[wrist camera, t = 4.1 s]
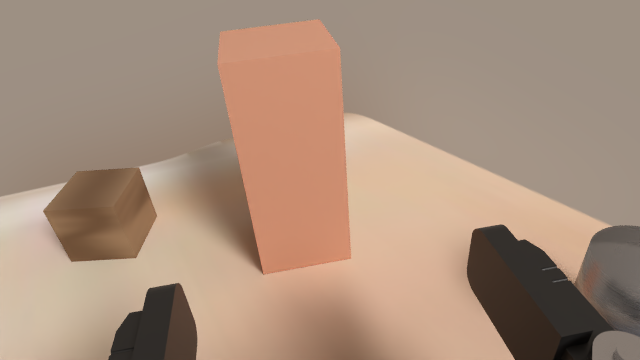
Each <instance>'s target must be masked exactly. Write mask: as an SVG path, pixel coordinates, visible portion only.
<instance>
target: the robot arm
mask: <svg viewBox="0 0 640 360" xmlns="http://www.w3.org/2000/svg"><path fill="white" fill-rule="evenodd" d="M467 276H468V280H469V284H470V286H471V288H472V290H473V292H474V294H475V295H476V297H477V299H478V300H479V302H480V303H481V305H482V307H483V308H484V310H485V312H486V313H487V315H488V316H489V318H490V320H491V321H492V323H493V325H494V326H495V328H496V329H497V331H498V333H499V334H500V336H501V338H502V339H503V341H504V342H505V344H506V346H507V347H508V349H509V351H510V352H511V354H512V355H513V357H514V359H515V360H640V337H638V336H636V335H633V334H630V333H626V332H622V331H615V330H614V329H613V328H612V327H611V326H610V325H609V324H608V323H607V321H606V320H605V319H604V318H603V317H602V316H601V315H600V314H599V312H598V311H597V310H596V309H595V308H594V307H593V306H592V305H591V303H590V302H589V301H588V300H587V299H586V298H585V297H584V296H583V295H582V293H581V292H580V291H579V290H578V289H577V288H576V287H575V286H574V284H573V283H572V282H571V281H568V279H567V277H566V275H565V274H564V273H563V272H562V271H561V270H560V269H559V268H557V265H556V264H555V263H554V262H553V261H552V260H551V259H550V258H549V256H548V255H547V254H546V253H545V252H544V251H543V250H541V249H540V248H538V247H537V246H535V245H533V244H532V243H530V242H528V241H527V240H520V241H518V240H517V239H516V238H515V237H514V235H513V234H512V233H511V232H510V231H509V230H508V228H507V227H506V226H504V225H495V226H490V227H484V228H478V229H475V230H474V231H473V233H472V238H471V245H470V252H469V258H468V265H467ZM196 352H197V330H196V324H195V320H194V318H193V315H192V312H191V310H190V307H189V304H188V302H187V299H186V296H185V294H184V291H183V288H182V286H181V285H180V284H179V283H176V284H171V285H165V286H159V287H154V288H149V289H148V291H147V294H146V298H145V302H144V307H143V311H138V312H132V313H129V314H128V316H127V317H126V319H125V320H124V321H123V323H122V324H121V326H120V327H119V328H118V330H117V331H116V334H115V338H114V341H113V345H112V348H111V355H110V356H109V359H108V360H196Z"/></svg>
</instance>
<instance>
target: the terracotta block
mask: <svg viewBox="0 0 640 360" xmlns="http://www.w3.org/2000/svg"><path fill="white" fill-rule="evenodd" d="M218 69H219V73H220V78H221V82H222V87H223V91H224V96H225V100H226V105H227V110H228V114H229V119H230V123H231V128H232V133H233V137H234V142H235V146H236V151H237V155H238V160H239V165H240V169H241V174H242V178H243V183H244V187H245V192H246V197H247V201H248V206H249V210H250V215H251V219H252V224H253V229H254V233H255V238H256V242H257V247H258V251H259V256H260V261H261V265H262V270H263V274H268V273H274V272H279V271H284V270H290V269H295V268H301V267H306V266H312V265H317V264H323V263H328V262H334V261H339V260H345V259H350V258H351V249H350V230H349V211H348V192H347V173H346V154H345V135H344V115H343V97H342V77H341V59H340V47H339V46H338V44H337V43H336V42H335V40H334V39H333V38H332V36H331V35H330V33H329V32H328V31H327V29H326V28H325V27H324V25H323V24H322V22H321V21H320V20H319V19H318V20H310V21H302V22H294V23H286V24H278V25H270V26H262V27H254V28H247V29H238V30H230V31H222V32H220V41H219V53H218Z"/></svg>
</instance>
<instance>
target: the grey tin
mask: <svg viewBox="0 0 640 360" xmlns="http://www.w3.org/2000/svg"><path fill="white" fill-rule="evenodd" d="M574 286H575V287H576V288H577V289H578V290H579V291H580V292H581V293H582V295H583V296H584V297H585V298H586V299H587V300H588V301H589V302H590V303H591V305H592V306H593V307H594V308H595V309H596V310H597V311H598V312H599V314H600V315H601V316H602V317H603V318H604V319H605V320H606V321H607V323H608V324H609V325H610V326H611V327H612V328H613V329H614V330H615V331H622V332H626V333H630V334H633V335H636V336H638V337H640V227H638V226H613V227H608V228H605V229H603V230H601V231H599V232H597V233H596V234H595V235H594V236H593V237H592V239H591V241H590V244H589V247H588V249H587V252H586V255H585V257H584V260H583V263H582V265H581V268H580V271H579V273H578V276H577V279H576V281H575V284H574Z"/></svg>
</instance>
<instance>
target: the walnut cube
mask: <svg viewBox="0 0 640 360" xmlns="http://www.w3.org/2000/svg"><path fill="white" fill-rule="evenodd" d="M43 212H44V214H45V215H46V217H47V219H48V221H49V222H50V224H51V226H52V228H53V229H54V231H55V233H56V235H57V237H58V238H59V240H60V242H61V244H62V245H63V247H64V249H65V251H66V253H67V254H68V256H69V258H70V260H71V261H72V262H74V261H91V260H109V259H127V258H136V257H137V255H138V253H139V251H140V249H141V247H142V245H143V243H144V241H145V239H146V237H147V235H148V233H149V231H150V229H151V227H152V225H153V223H154V221H155V219H156V217H157V214H156V212H155V209H154V207H153V204H152V201H151V199H150V196H149V193H148V191H147V188H146V185H145V183H144V180H143V177H142V175H141V172H140V169H139V168H125V169H109V170H94V171H79V172H77V173H75V175H74V176H73V177H72V178H71V179H70V181H69V182H68V183H67V184H66V185H65V186H64V187H63V188H62V190H61V191H60V192H59V193H58V194H57V195H56V197H55V198H54V199H53V200H52V201H51V202H50V204H49V205H48V206H47V207H46V208H45V209H44V211H43Z"/></svg>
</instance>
